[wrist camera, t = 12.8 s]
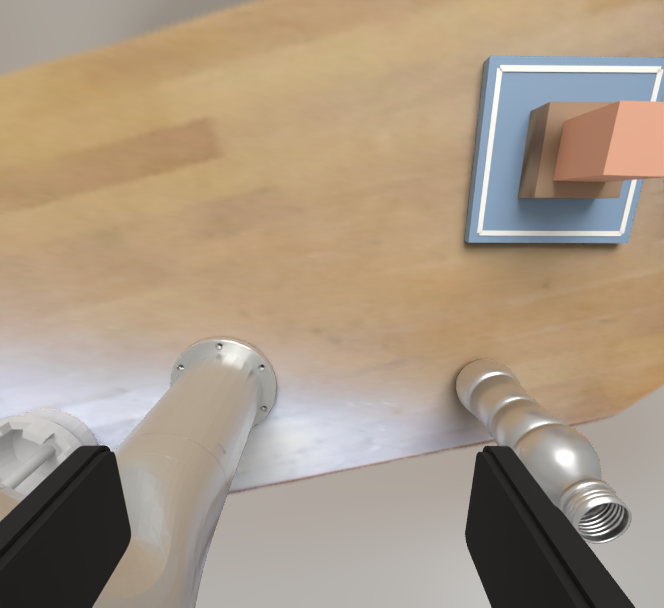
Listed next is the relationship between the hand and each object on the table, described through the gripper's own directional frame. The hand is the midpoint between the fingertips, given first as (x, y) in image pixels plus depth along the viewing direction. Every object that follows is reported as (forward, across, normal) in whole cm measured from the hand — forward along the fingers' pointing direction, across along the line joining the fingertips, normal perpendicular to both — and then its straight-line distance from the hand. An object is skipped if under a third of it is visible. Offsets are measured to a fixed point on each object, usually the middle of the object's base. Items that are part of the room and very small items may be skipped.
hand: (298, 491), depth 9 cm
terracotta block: (+26, -24, -12) cm, 37 cm away
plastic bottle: (+31, -19, +13) cm, 38 cm away
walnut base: (+29, -24, -12) cm, 40 cm away
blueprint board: (+30, -24, -12) cm, 40 cm away
